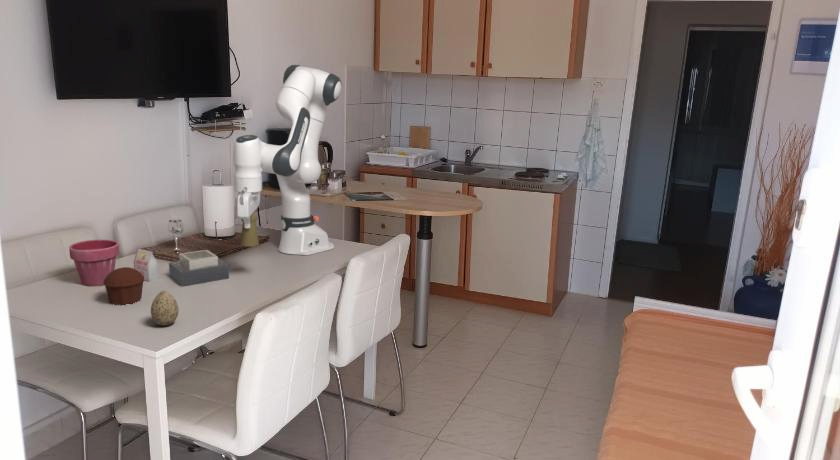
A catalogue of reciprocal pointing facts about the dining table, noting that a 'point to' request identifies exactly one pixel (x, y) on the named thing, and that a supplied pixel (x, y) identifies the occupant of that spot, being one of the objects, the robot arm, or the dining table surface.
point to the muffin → (124, 286)
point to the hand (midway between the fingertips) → (249, 225)
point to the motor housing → (198, 268)
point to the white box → (146, 265)
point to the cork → (250, 233)
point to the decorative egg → (164, 309)
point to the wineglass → (175, 229)
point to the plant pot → (94, 260)
